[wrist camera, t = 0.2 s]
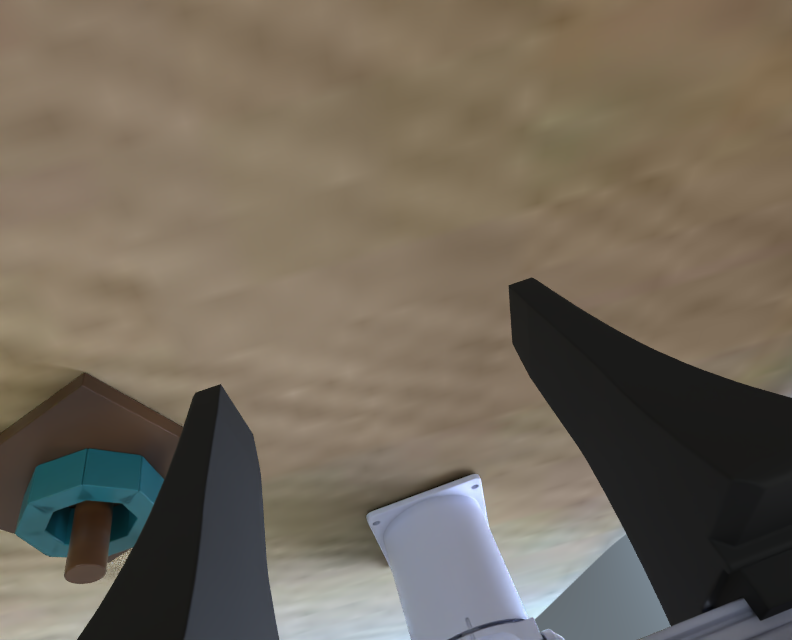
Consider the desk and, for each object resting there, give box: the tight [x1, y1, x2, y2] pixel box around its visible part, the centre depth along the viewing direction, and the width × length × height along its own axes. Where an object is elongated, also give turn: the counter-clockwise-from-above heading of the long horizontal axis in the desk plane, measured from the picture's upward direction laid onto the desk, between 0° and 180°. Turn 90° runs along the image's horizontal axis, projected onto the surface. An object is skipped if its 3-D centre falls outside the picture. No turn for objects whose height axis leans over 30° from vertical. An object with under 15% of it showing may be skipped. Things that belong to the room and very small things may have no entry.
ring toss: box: [0, 373, 183, 584], centre depth 26 cm, size 10×10×5 cm
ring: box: [15, 448, 164, 557], centre depth 26 cm, size 6×6×2 cm
